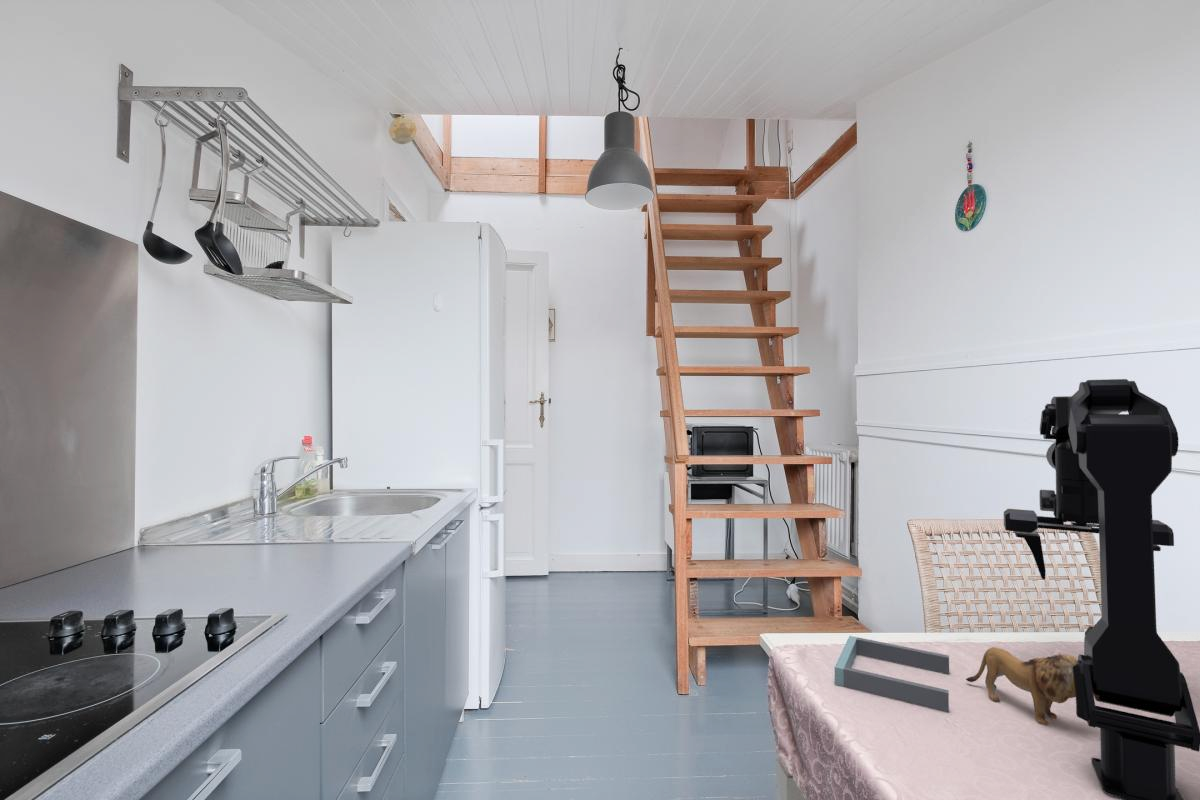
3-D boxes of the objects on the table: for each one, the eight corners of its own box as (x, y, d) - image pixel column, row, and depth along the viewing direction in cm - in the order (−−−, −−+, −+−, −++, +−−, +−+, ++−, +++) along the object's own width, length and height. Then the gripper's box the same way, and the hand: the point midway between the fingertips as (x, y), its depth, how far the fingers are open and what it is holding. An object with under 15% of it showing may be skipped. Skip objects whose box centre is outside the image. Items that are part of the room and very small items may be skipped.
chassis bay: (948, 712, 74) (948, 693, 74) (834, 684, 82) (834, 667, 82) (949, 671, 86) (949, 655, 86) (849, 650, 93) (849, 635, 93)
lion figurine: (1098, 730, 70) (1096, 658, 70) (1076, 740, 68) (1075, 666, 68) (976, 680, 83) (975, 619, 83) (954, 687, 81) (953, 625, 81)
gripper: (1151, 478, 85) (1153, 581, 85) (1001, 471, 95) (1002, 563, 95) (1173, 485, 76) (1176, 601, 75) (1004, 477, 86) (1006, 578, 86)
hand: (1082, 583), depth 83 cm, fingers open, 9 cm apart
